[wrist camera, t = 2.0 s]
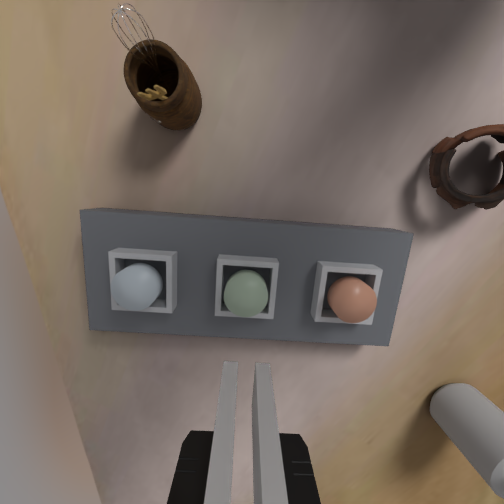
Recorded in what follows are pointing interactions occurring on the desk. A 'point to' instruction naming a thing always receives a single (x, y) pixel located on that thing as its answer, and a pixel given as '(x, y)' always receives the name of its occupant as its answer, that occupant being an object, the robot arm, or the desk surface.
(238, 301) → the sage button
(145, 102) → the utensil holder
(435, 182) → the dark brown curved piece
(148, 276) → the pale blue button
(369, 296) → the terracotta button
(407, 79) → the desk surface
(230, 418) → the robot arm
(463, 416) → the can
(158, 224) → the console
